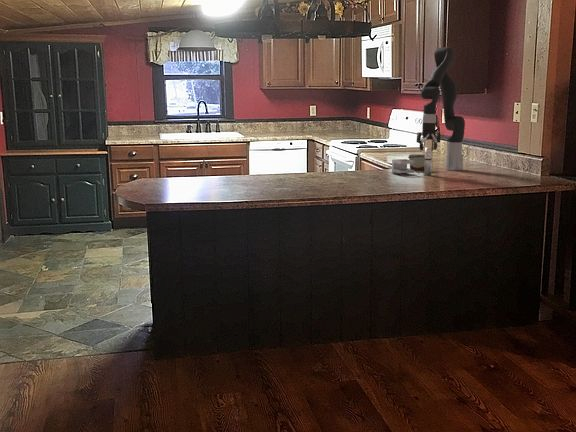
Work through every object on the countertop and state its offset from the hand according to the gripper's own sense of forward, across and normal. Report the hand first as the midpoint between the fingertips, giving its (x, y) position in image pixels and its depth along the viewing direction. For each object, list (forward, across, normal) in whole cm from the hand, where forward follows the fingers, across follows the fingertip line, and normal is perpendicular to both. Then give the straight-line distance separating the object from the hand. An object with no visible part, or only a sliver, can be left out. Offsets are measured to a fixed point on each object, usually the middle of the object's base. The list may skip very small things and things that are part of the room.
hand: (428, 150), depth 377 cm
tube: (+15, 0, 0) cm, 15 cm away
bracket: (+15, +12, -9) cm, 21 cm away
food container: (+15, -5, -21) cm, 26 cm away
